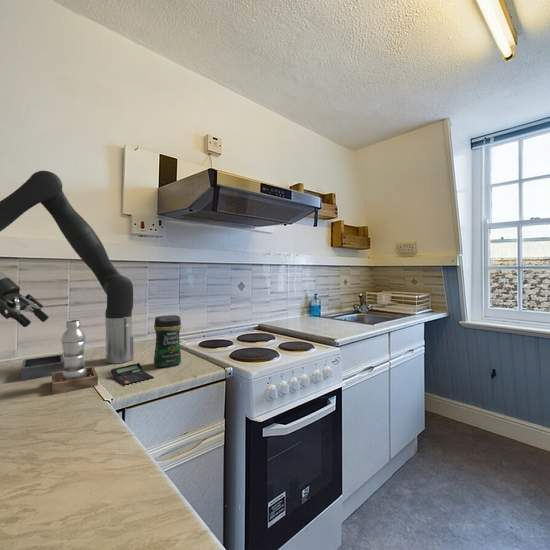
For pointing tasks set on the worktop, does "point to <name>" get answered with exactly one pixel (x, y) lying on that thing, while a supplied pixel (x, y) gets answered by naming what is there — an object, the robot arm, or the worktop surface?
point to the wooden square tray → (74, 381)
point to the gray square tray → (41, 367)
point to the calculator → (130, 374)
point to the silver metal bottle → (73, 351)
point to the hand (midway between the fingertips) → (37, 322)
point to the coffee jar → (167, 341)
